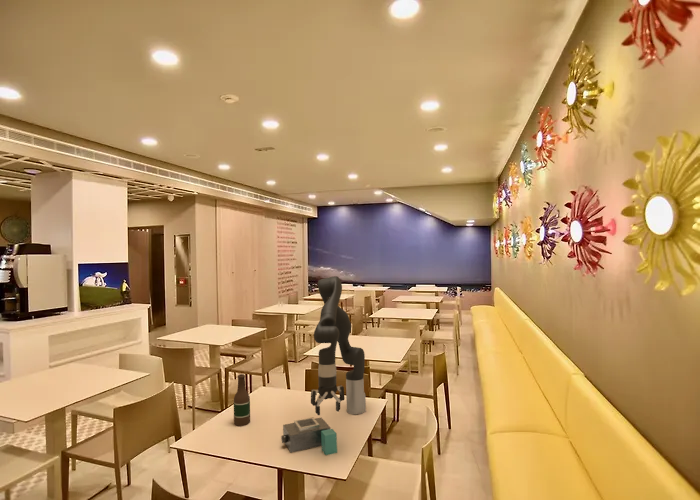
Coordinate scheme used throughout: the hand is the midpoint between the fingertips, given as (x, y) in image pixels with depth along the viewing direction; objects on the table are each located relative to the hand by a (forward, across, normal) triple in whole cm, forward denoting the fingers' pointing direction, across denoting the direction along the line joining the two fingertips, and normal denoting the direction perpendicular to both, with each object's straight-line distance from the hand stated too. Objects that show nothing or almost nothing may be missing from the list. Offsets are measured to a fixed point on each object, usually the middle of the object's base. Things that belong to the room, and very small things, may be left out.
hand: (328, 412), depth 165 cm
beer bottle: (+16, +29, -45) cm, 56 cm away
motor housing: (+16, +6, -12) cm, 21 cm away
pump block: (+16, 0, 0) cm, 16 cm away
